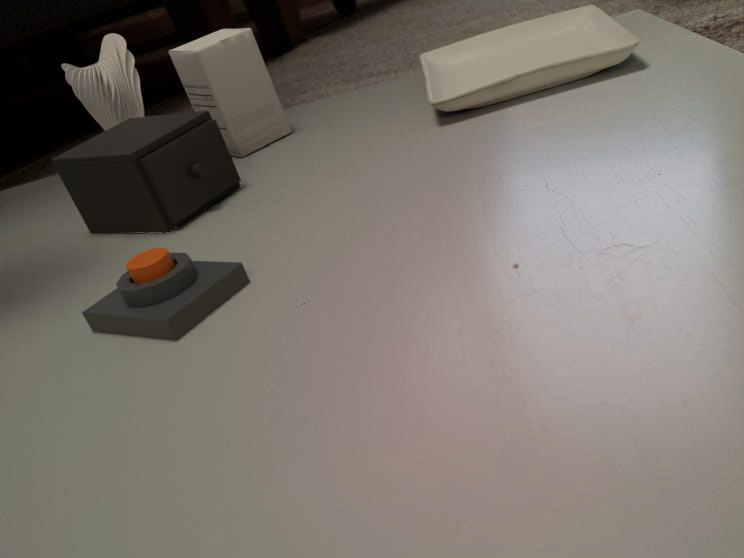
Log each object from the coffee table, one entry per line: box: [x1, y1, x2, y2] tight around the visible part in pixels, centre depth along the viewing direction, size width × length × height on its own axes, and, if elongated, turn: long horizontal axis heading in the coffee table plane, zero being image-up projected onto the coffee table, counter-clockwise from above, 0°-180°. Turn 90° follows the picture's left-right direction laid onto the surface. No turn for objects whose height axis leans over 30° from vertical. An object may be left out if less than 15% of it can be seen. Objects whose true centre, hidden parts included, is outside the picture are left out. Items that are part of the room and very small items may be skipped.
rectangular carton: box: [167, 27, 292, 158], centre depth 118 cm, size 9×9×15 cm
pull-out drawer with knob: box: [138, 119, 242, 224], centre depth 102 cm, size 15×12×8 cm
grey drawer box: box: [50, 111, 241, 234], centre depth 103 cm, size 15×13×10 cm
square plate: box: [419, 4, 641, 112], centre depth 116 cm, size 27×27×4 cm
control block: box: [81, 252, 251, 341], centre depth 79 cm, size 12×10×4 cm
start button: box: [125, 247, 175, 284], centre depth 78 cm, size 4×4×2 cm
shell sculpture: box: [61, 32, 146, 131], centre depth 124 cm, size 8×8×18 cm
